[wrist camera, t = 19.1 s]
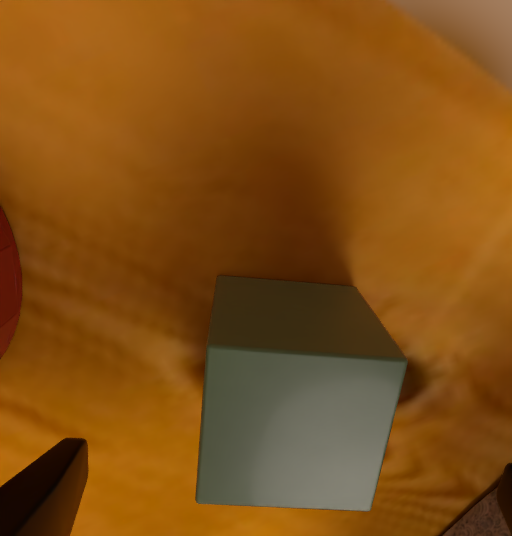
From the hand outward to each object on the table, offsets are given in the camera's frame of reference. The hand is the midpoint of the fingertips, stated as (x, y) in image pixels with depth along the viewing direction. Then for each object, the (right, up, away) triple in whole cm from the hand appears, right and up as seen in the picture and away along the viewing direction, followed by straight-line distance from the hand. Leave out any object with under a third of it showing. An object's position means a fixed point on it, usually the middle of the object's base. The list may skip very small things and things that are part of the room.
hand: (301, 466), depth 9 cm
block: (0, +2, +5) cm, 5 cm away
